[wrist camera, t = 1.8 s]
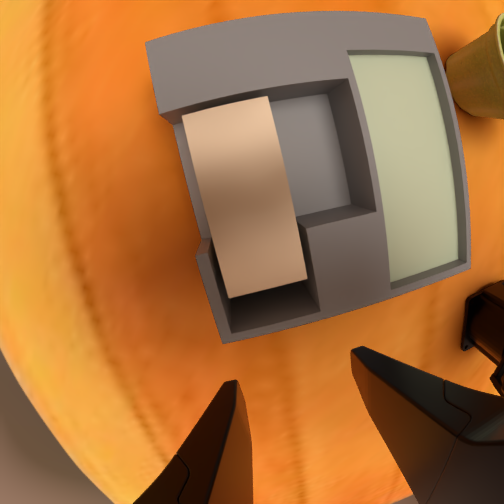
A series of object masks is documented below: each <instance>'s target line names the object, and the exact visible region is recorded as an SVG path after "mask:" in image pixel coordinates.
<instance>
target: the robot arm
mask: <svg viewBox="0 0 504 504" xmlns="http://www.w3.org/2000/svg"><path fill="white" fill-rule="evenodd" d="M472 347H476V348H477V349H478V350H479V351H480V352H482V353H483V354H484V355H485V356H486V357H488V358H489V359H490V360H491V361H492V362H493V363H495V364H496V365H497V368H496V370H495V371H494V373H493V374H492V375H491V377H490V380H491V381H492V383H493V385H494V387H495V388H496V390H497V391H498V393H499V394H500V395H501V396H497V395H493V394H489V393H485V392H481V391H477V390H474V389H470V388H467V387H464V386H461V385H458V384H455V383H453V382H450V381H448V380H444V379H442V378H440V377H437V376H435V375H432V374H430V373H427V372H425V371H422V370H420V369H417V368H415V367H412V366H410V365H407V364H405V363H402V362H400V361H398V360H395V359H393V358H390V357H388V356H386V355H383V354H381V353H379V352H376V351H374V350H372V349H369V348H367V347H365V346H360V347H357V348H354V349H352V350H351V353H350V355H351V368H352V374H353V377H354V379H355V381H356V384H357V386H358V389H359V391H360V394H361V396H362V399H363V401H364V404H365V406H366V408H367V411H368V413H369V415H370V417H371V418H372V420H373V422H374V424H375V425H376V427H377V429H378V431H379V432H380V434H381V436H382V438H383V440H384V441H385V443H386V445H387V447H388V448H389V450H390V452H391V454H392V456H393V457H394V459H395V461H396V463H397V465H398V466H399V468H400V470H401V472H402V474H403V475H404V477H405V479H406V481H407V483H408V484H409V486H410V488H411V490H412V492H413V494H414V495H415V497H416V499H417V501H418V503H419V504H504V280H502V281H500V282H498V283H496V284H494V285H492V286H490V287H488V288H486V289H484V290H482V291H480V292H478V293H476V294H474V295H472V296H470V297H468V299H467V301H466V310H465V320H464V328H463V336H462V343H461V349H462V350H463V351H466V350H468V349H470V348H472ZM133 504H253V470H252V441H251V434H250V428H249V422H248V416H247V410H246V403H245V399H244V396H243V393H242V391H241V388H240V385H239V382H238V381H237V380H231V381H226V382H224V383H223V385H222V386H221V388H220V389H219V391H218V392H217V394H216V395H215V397H214V398H213V400H212V401H211V403H210V404H209V406H208V407H207V409H206V410H205V412H204V413H203V415H202V416H201V418H200V419H199V421H198V422H197V424H196V425H195V427H194V428H193V429H192V431H191V432H190V434H189V435H188V437H187V438H186V440H185V441H184V442H183V444H182V445H181V447H180V448H179V450H178V451H177V453H176V454H175V455H174V457H173V458H172V459H171V461H170V462H169V463H168V465H167V466H166V467H165V469H164V470H163V471H162V473H161V474H160V475H159V476H158V477H157V478H156V480H155V481H154V482H153V483H152V484H151V485H150V486H149V487H148V488H147V489H146V490H145V491H144V492H143V494H142V495H141V496H140V497H139V498H138V499H137V500H136V501H135V502H134V503H133Z"/></svg>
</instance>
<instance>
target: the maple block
mask: <svg viewBox="0 0 504 504" xmlns="http://www.w3.org/2000/svg"><path fill="white" fill-rule="evenodd" d="M182 120H183V124H184V128H185V132H186V137H187V141H188V145H189V149H190V153H191V158H192V162H193V166H194V170H195V174H196V178H197V182H198V186H199V190H200V194H201V198H202V202H203V205H204V209H205V213H206V217H207V221H208V225H209V228H210V232H211V236H212V240H213V243H214V247H215V251H216V254H217V258H218V262H219V265H220V269H221V272H222V276H223V280H224V283H225V287H226V290H227V294H228V297H229V298H232V297H237V296H241V295H245V294H249V293H253V292H257V291H262V290H266V289H270V288H274V287H278V286H282V285H286V284H289V283H293V282H297V281H301V280H305V279H307V273H306V268H305V262H304V257H303V252H302V247H301V242H300V236H299V231H298V226H297V222H296V217H295V212H294V207H293V202H292V198H291V193H290V188H289V184H288V179H287V175H286V170H285V166H284V162H283V157H282V153H281V149H280V145H279V140H278V136H277V132H276V128H275V124H274V120H273V116H272V112H271V108H270V104H269V100H268V96H265V97H259V98H254V99H249V100H244V101H240V102H235V103H230V104H226V105H222V106H217V107H213V108H209V109H205V110H201V111H198V112H194V113H190V114H187V115H183V116H182Z"/></svg>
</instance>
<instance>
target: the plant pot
mask: <svg viewBox="0 0 504 504" xmlns="http://www.w3.org/2000/svg"><path fill="white" fill-rule="evenodd" d="M446 77H447V81H448V84H449V88H450V92H451V95H452V97H453V99H454V100H455V102H456V103H457V104H458V106H459V107H460V108H461V109H463V110H464V111H466V112H468V113H469V114H471V115H472V116H477V117H487V118H497V119H504V13H502V14H500V15H499V16H498V17H497V19H496V22H495V24H494V25H492V26H491V28H490V29H489V31H488V32H486V33H485V34H483V35H482V36H480V37H479V38H477V39H476V40H474V41H473V42H471V43H469V44H468V45H466V46H465V47H463V48H462V49H460V50H459V51H457V52H455V53H454V54H452V55H451V56H450V57H449V58H448V59H447V61H446Z"/></svg>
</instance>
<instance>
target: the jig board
mask: <svg viewBox="0 0 504 504" xmlns="http://www.w3.org/2000/svg"><path fill="white" fill-rule="evenodd" d="M145 45H146V51H147V56H148V62H149V67H150V72H151V77H152V82H153V87H154V92H155V97H156V102H157V107H158V111H159V115H161V116H162V117H163V118H164V119H166V120H167V121H168V122H169V123H171V124H172V125H173V128H174V133H175V137H176V141H177V145H178V150H179V154H180V158H181V162H182V166H183V170H184V174H185V178H186V182H187V186H188V190H189V194H190V198H191V202H192V205H193V209H194V213H195V217H196V221H197V224H198V228H199V232H200V235H201V239H202V240H201V243H200V245H199V247H198V250H197V252H196V255H195V257H196V260H197V264H198V267H199V271H200V274H201V277H202V281H203V284H204V287H205V290H206V294H207V297H208V300H209V303H210V306H211V310H212V313H213V316H214V319H215V322H216V325H217V328H218V331H219V334H220V337H221V340H222V343H223V344H226V343H230V342H235V341H240V340H244V339H248V338H253V337H257V336H261V335H265V334H269V333H273V332H277V331H281V330H285V329H289V328H293V327H297V326H301V325H304V324H308V323H312V322H315V321H319V320H322V319H326V318H329V317H333V316H336V315H340V314H343V313H346V312H350V311H353V310H356V309H359V308H363V307H366V306H369V305H372V304H375V303H378V302H381V301H384V300H387V299H390V298H393V297H396V296H399V295H402V294H405V293H408V292H410V291H413V290H416V289H419V288H422V287H424V286H427V285H430V284H432V283H435V282H438V281H440V280H443V279H446V278H448V277H451V276H453V275H456V274H458V273H461V272H463V271H466V270H468V269H470V267H471V230H470V209H469V195H468V185H467V176H466V168H465V160H464V154H463V147H462V141H461V136H460V131H459V126H458V121H457V116H456V112H455V107H454V103H453V99H452V95H451V92H450V88H449V84H448V81H447V77H446V74H445V71H444V68H443V64H442V61H441V58H440V55H439V52H438V50H437V47H436V44H435V41H434V39H433V36H432V33H431V31H430V28H429V26H428V23H427V21H426V19H425V18H419V17H412V16H405V15H396V14H387V13H374V12H356V11H313V12H294V13H282V14H272V15H263V16H256V17H249V18H242V19H236V20H230V21H225V22H220V23H215V24H210V25H206V26H201V27H197V28H193V29H189V30H185V31H181V32H178V33H174V34H171V35H167V36H164V37H160V38H157V39H154V40H151V41H148V42H145ZM265 96H268V100H269V104H270V108H271V112H272V116H273V120H274V124H275V128H276V132H277V136H278V140H279V145H280V149H281V153H282V157H283V162H284V166H285V170H286V175H287V179H288V184H289V188H290V193H291V198H292V202H293V207H294V212H295V217H296V222H297V226H298V231H299V236H300V242H301V247H302V252H303V257H304V262H305V268H306V273H307V279H305V280H301V281H297V282H293V283H289V284H286V285H282V286H278V287H274V288H270V289H266V290H262V291H257V292H253V293H249V294H245V295H241V296H237V297H232V298H229V297H228V294H227V290H226V287H225V283H224V280H223V276H222V272H221V269H220V265H219V262H218V258H217V254H216V251H215V247H214V243H213V240H212V236H211V232H210V228H209V225H208V221H207V217H206V213H205V209H204V205H203V202H202V198H201V194H200V190H199V186H198V182H197V178H196V174H195V170H194V166H193V162H192V158H191V153H190V149H189V145H188V141H187V137H186V132H185V128H184V124H183V120H182V116H183V115H187V114H190V113H194V112H198V111H201V110H205V109H209V108H213V107H217V106H222V105H226V104H230V103H235V102H240V101H244V100H249V99H254V98H259V97H265Z"/></svg>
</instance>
